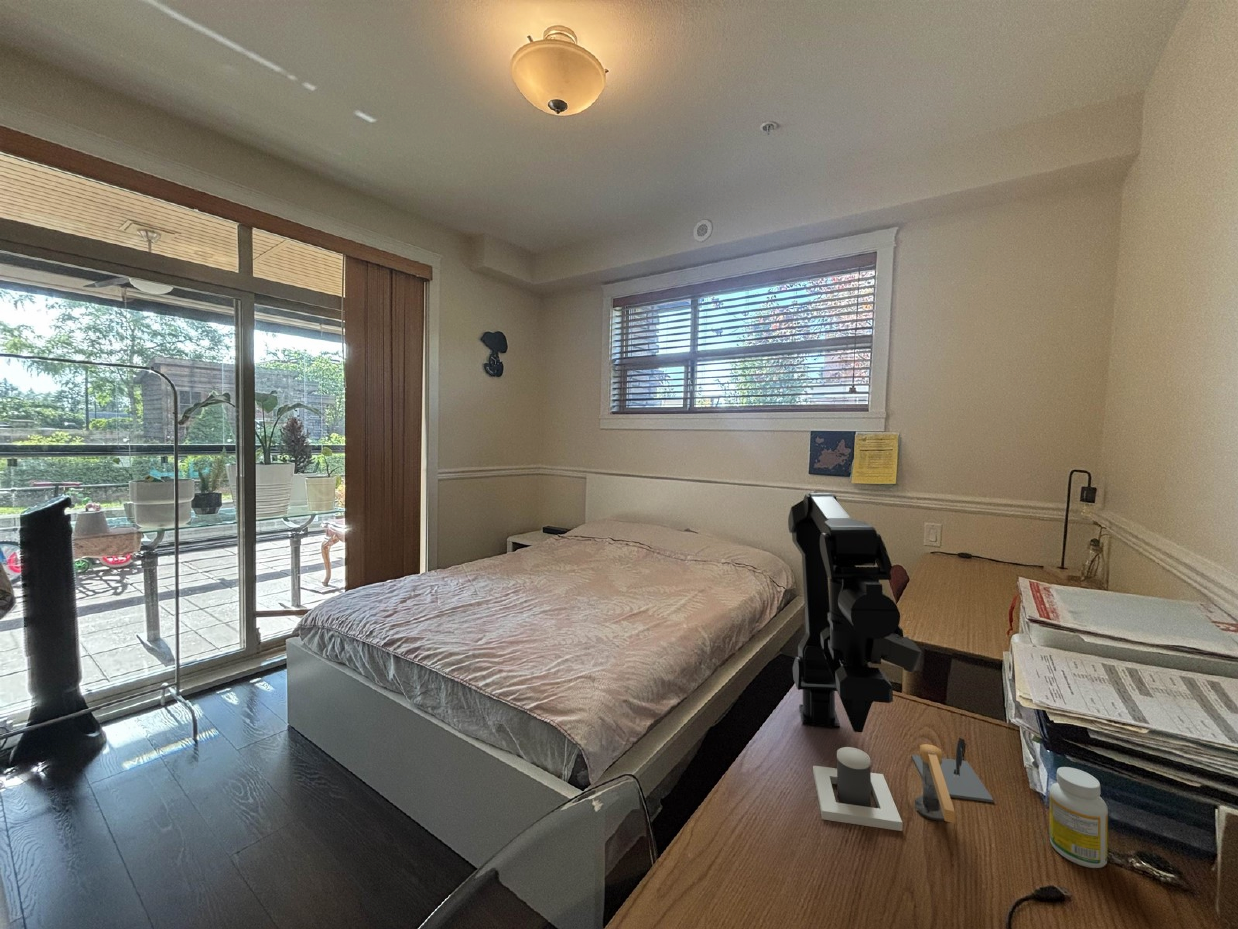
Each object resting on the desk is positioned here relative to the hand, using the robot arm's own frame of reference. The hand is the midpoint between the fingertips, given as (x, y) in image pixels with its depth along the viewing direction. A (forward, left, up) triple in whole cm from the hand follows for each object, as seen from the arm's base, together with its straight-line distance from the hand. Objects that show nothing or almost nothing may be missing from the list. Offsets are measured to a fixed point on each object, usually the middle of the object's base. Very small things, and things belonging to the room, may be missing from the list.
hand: (852, 718), depth 72 cm
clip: (+6, +9, -5) cm, 12 cm away
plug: (0, 0, -12) cm, 12 cm away
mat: (-8, +15, -12) cm, 21 cm away
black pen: (-13, +18, -13) cm, 26 cm away
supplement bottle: (+4, +25, -12) cm, 28 cm away
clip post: (0, +10, -12) cm, 16 cm away
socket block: (0, 0, -12) cm, 12 cm away
